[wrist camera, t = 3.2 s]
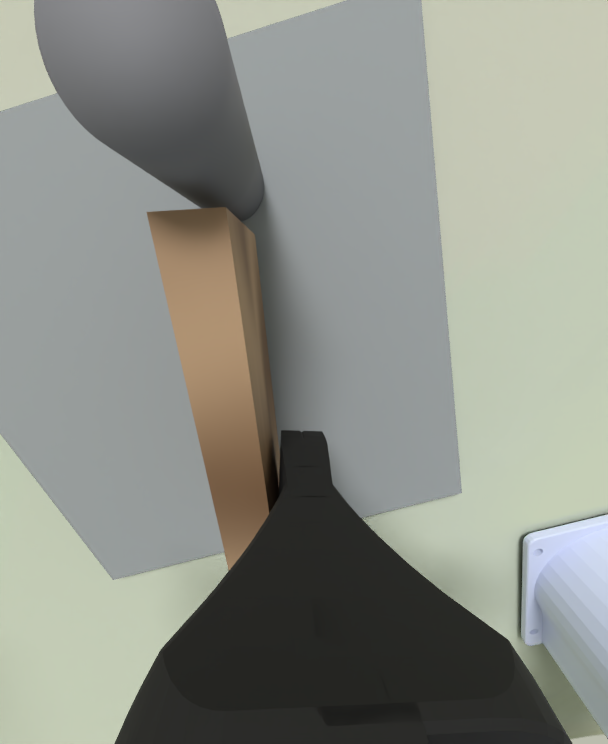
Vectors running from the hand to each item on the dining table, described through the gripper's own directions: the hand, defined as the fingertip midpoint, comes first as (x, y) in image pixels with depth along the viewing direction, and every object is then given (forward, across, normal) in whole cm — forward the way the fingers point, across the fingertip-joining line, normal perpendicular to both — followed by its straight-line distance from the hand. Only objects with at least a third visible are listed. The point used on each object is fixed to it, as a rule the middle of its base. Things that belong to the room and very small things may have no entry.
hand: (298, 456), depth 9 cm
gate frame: (+2, +3, -2) cm, 4 cm away
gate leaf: (+2, +2, -1) cm, 2 cm away
